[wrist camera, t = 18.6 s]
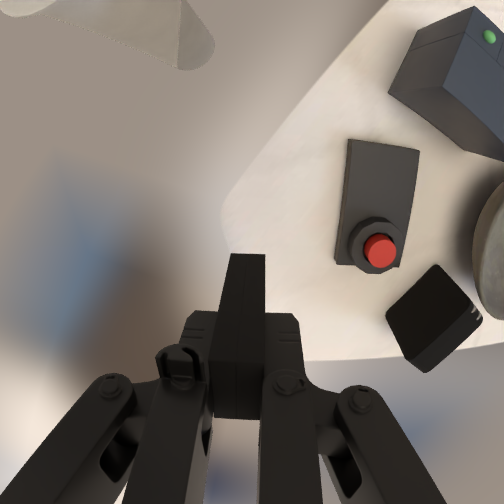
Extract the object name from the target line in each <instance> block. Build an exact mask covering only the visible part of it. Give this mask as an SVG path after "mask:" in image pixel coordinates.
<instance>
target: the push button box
mask: <svg viewBox="0 0 504 504" xmlns="http://www.w3.org/2000/svg"><path fill="white" fill-rule="evenodd" d="M419 155H420V151H419V150H416V149H411V148H406V147H400V146H394V145H388V144H382V143H375V142H368V141H361V140H353V139H348V149H347V160H346V170H345V180H344V189H343V197H342V206H341V213H340V221H339V228H338V236H337V243H336V249H335V256H334V259H335V261H336V264H337V265H356V267H358V268H359V269H361V270H362V271H364V272H365V273H367V274H381V273H383V272H385V271H387V270H390V269H392V268H393V267H399V265H400V261H401V257H402V253H403V248H404V244H405V239H406V234H407V229H408V224H409V219H410V214H411V208H412V203H413V197H414V191H415V184H416V178H417V171H418V163H419ZM375 234H383V235H385V236H387V237H388V238H389V239H390V240H391V241H392V243H393V244H394V245H395V247H396V256H395V259H394V260H393V262H392V263H391V264H389V265H388V266H386V267H383V268H378V267H375V266H373V265H372V264H371V263H370V261H369V260H368V258H367V257H366V255H365V253H364V246H365V243H366V241H367V240H368V239H369V238H370V237H371V236H373V235H375Z"/></svg>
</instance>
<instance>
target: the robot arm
mask: <svg viewBox="0 0 504 504" xmlns="http://www.w3.org/2000/svg"><path fill="white" fill-rule="evenodd" d="M155 359H156V363H157V367H158V371H159V375H160V378H159V379H157V380H154V381H150V382H142V383H133V384H132V383H131V381H130V380H129V378H127V377H126V376H124V375H122V374H117V373H111V374H105V375H103V376H100V377H99V378H97V379H96V380H95V381H94V382H93V383H92V384H91V385H90V386H89V388H88V389H87V390H86V391H85V392H84V393H83V394H82V396H81V397H80V398H79V399H78V400H77V402H76V403H75V404H74V405H73V406H72V407H71V409H70V410H69V411H68V412H67V413H66V415H65V416H64V417H63V418H62V419H61V420H60V422H59V423H58V424H57V425H56V426H55V428H54V429H53V430H52V431H51V433H50V434H49V435H48V436H47V437H46V439H45V440H44V441H43V442H42V444H41V445H40V446H39V447H38V448H37V450H36V451H35V452H34V454H33V455H32V456H31V457H30V458H29V459H28V461H27V462H26V463H25V464H24V466H23V467H22V468H21V470H20V471H19V472H18V473H17V475H16V476H15V477H14V478H13V480H12V481H11V482H10V483H9V485H8V486H7V487H6V489H5V490H4V491H3V492H2V494H1V495H0V504H114V503H115V501H116V499H117V498H118V496H119V495H120V493H121V491H122V490H123V488H124V486H125V485H126V483H127V482H128V483H127V486H126V490H125V493H124V497H123V500H122V504H203V498H204V490H205V483H206V476H207V469H208V461H209V454H210V446H211V440H212V433H213V431H212V417H213V413H214V418H226V419H243V420H260V429H259V444H258V446H259V452H258V479H257V504H323V499H322V488H321V477H320V467H319V456H318V454H321V455H322V458H323V461H324V463H325V465H326V467H327V470H328V472H329V475H330V477H331V480H332V482H333V484H334V487H335V489H336V492H337V494H338V496H339V499H340V501H341V503H342V504H447V503H446V502H445V500H444V498H443V496H442V495H441V493H440V491H439V490H438V488H437V486H436V485H435V483H434V481H433V479H432V478H431V476H430V474H429V473H428V471H427V469H426V468H425V466H424V465H423V463H422V461H421V459H420V458H419V456H418V455H417V453H416V451H415V449H414V448H413V446H412V445H411V443H410V441H409V440H408V438H407V437H406V435H405V433H404V432H403V430H402V428H401V427H400V425H399V424H398V422H397V420H396V419H395V417H394V416H393V414H392V412H391V411H390V409H389V408H388V406H387V405H386V403H385V401H384V400H383V398H382V397H381V396H380V395H379V393H378V392H377V391H376V390H374V389H372V388H370V387H367V386H362V385H356V386H350V387H348V388H345V389H344V390H343V391H342V392H341V393H335V392H331V391H326V390H323V389H320V388H318V387H317V386H315V385H313V384H312V383H311V382H310V381H309V379H308V378H307V376H306V374H305V368H304V360H303V352H302V344H301V336H300V328H299V322H298V321H297V319H296V318H295V317H294V315H293V314H292V313H265V254H237V253H231V255H230V260H229V264H228V269H227V273H226V277H225V282H224V287H223V291H222V296H221V300H220V305H219V310H218V312H215V311H197V310H195V311H194V312H193V313H192V314H191V315H190V316H189V317H188V318H187V320H186V323H185V326H184V330H183V332H182V335H181V338H180V341H179V344H173V345H170V346H167V347H165V348H163V349H162V350H160V351H159V352H158V354H157V355H156V357H155Z"/></svg>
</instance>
